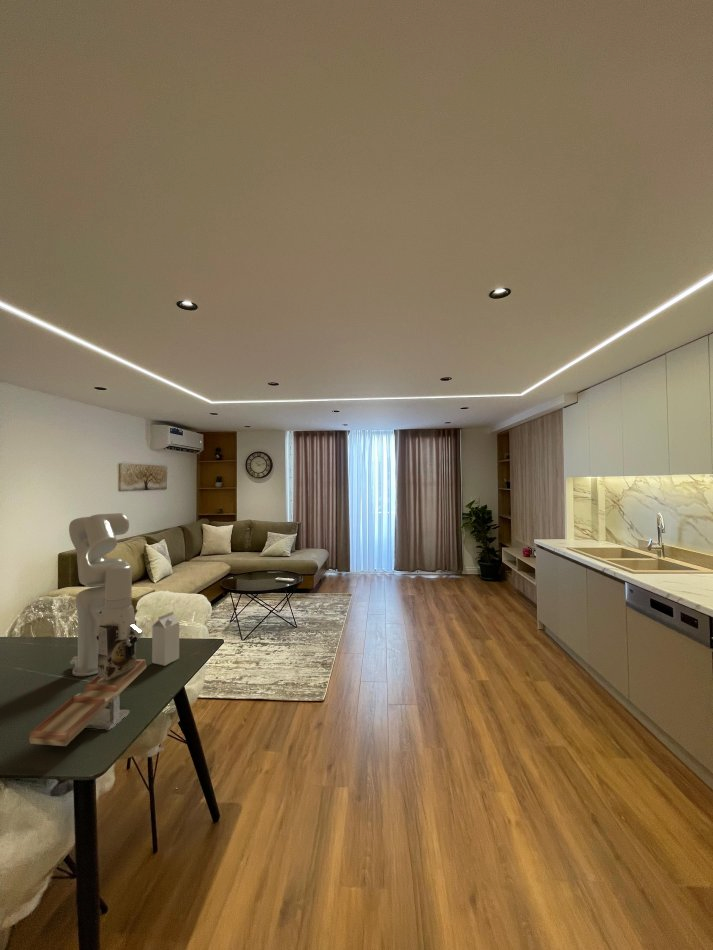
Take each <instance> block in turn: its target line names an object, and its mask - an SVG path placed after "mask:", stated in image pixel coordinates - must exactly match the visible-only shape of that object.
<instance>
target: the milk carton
mask: <svg viewBox="0 0 713 950" xmlns="http://www.w3.org/2000/svg"><path fill="white" fill-rule="evenodd" d="M151 628H152V637H151V639H152V640H151V641H152V645H151V646H152V648H151V652H152V653H151V662H152V664H156V665H160V666H163V667H164V666H165V667H166V666H167V665H169V664H171V663H173V662H175V661H178V660H179V659H180V620H178V619H177V617H176V616H175V615H174V611H170V612H168V613H166V614H163V615H161V616H158V619H157V620H156V621H155V622H154V623H153V624H152V627H151Z"/></svg>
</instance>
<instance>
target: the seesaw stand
mask: <svg viewBox="0 0 713 950" xmlns="http://www.w3.org/2000/svg"><path fill="white" fill-rule="evenodd" d="M81 693H82V692H78V693H77V694H75V695H74V696H79V695H80V694H81ZM120 699H121V698H120V694H119V695H116V696H114V697H113V698H111V699H110V705H109V708H106V707H105V708H104V709H103V710H102V711H101V712H100V713H99V714H98V715H97V716H96V717H95V718H94V719H93V720H92V721H91V722H90V723H89V724H88V725H87V726H86V727H85V728H97V729H106V730H105V731H111V730H112V729H113V728H114V727H116V726H117V725H118V724H119V723H120V722H121V721H123V720H124V719H125V718H127V716H129V715H130V709H123V708H122V709H120V703H121V701H120ZM128 714H129V715H128ZM124 717H125V718H124ZM123 718H124V719H123ZM122 719H123V720H122ZM117 723H118V724H117ZM116 724H117V725H116ZM111 728H112V729H111ZM97 729H96V730H97ZM110 729H111V730H110Z"/></svg>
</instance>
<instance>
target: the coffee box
mask: <svg viewBox="0 0 713 950" xmlns="http://www.w3.org/2000/svg"><path fill="white" fill-rule="evenodd" d="M135 626H136V627H137V620H136V619H135ZM131 632H132V633H133V631H130V634H131ZM130 634H129V635H130ZM134 637H135V634H134ZM129 639H130V637H129ZM130 641H131V639H130ZM126 646H128V645H127V643H126V642H125V640H118V626H99V644H98V673H97V675H98V676H100V677H102V678H104V679H106V680H109V679H112V678H114V677H116V676H119V675H121V674H124V673H126V672H128V671H131V670H133V669H134V668H135V667H136V659H137V642H136V643H135V648H134V655H133V656H131V657H130V658H128V659H126Z"/></svg>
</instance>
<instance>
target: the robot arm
mask: <svg viewBox="0 0 713 950" xmlns="http://www.w3.org/2000/svg"><path fill="white" fill-rule="evenodd" d="M129 528H130V521H129V519H128V516H127V515H126V514H124V513H117V512H115V513H99V514H94V515H93V514H92V515H90V516H83V517H78V518H75V519H72V520H71V521H70V522H69V525H68V534H69V538H70V541H71V542H72V545H73V547H74V549H75V551H76V560H77V561H76V562H77V574H78V580H79V583H80V584H81V585H83V586H85V587H87V588H86V589H82V590H81V591H79V592H78V593H77V595H76V596H75V602H74V603H75V608H76V615H77V656H73V657H72V659H71V660H70V661H69V664H70V665H74V667H73V669H72V675H73V676H76V677H87V676H93V675H98V644H99V626H118V640H125V642H126V643H127V645H128V646H126V659H128V658H130V657H131V656H133V655H134V648H135V643H136V644H137V642H138V640H139V639H140V638H141V636H142V634H143V631H142V630H141V629H140V628H138V627H137V625H136V626H135V620H136V615H135V609H134V606H133V604H132V597H133V596H132V593H133V592H132V590H133V589H132V587H133V586H132V583H133V582H132V581H133V579H132V578H133V575H132V574H133V570H132V566H131V564H130V563H129V562H128V561H126V560H123V559H122V558H120V557H113V558H112V557H111V558H104V556H106V555H108V554H109V553H111V552H114V550H115V549H116V548H117V546H118V539H117V537H116V536H121V535H124V534H126V533H127V532H128V531H129ZM130 631H133V633H132V632H131V634H130ZM129 634H130V635H129ZM134 634H135V637H134ZM129 637H130V639H131V641H130V639H129Z"/></svg>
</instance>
